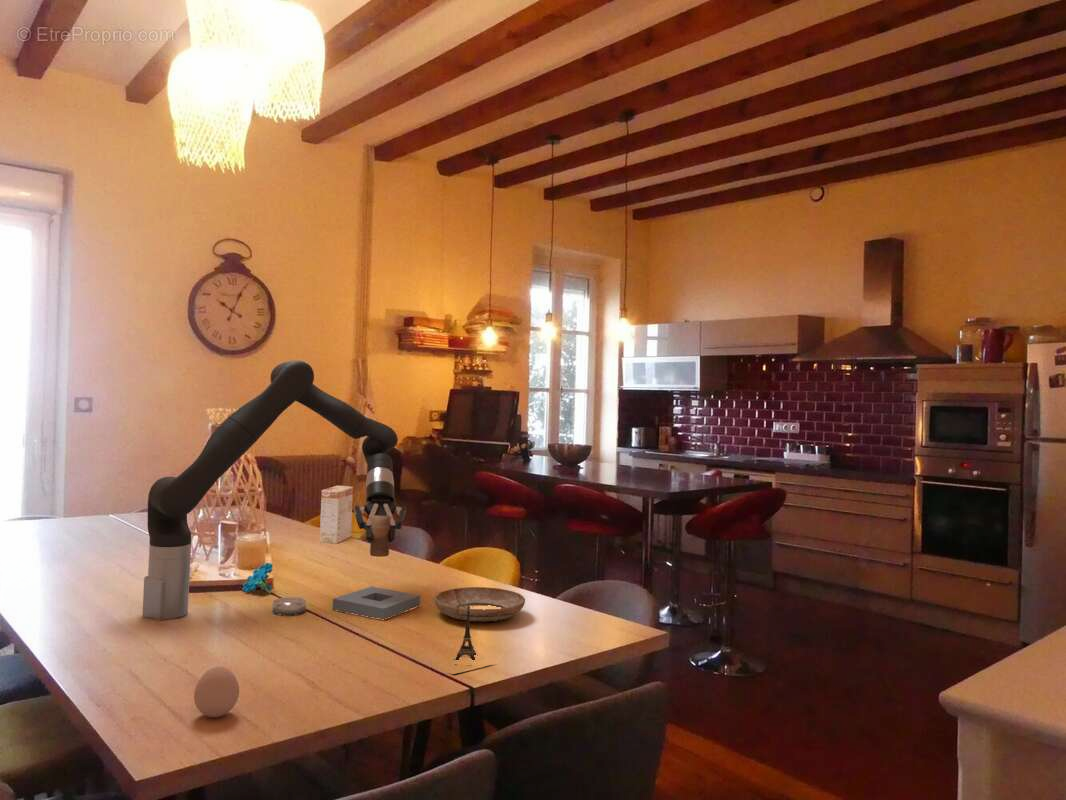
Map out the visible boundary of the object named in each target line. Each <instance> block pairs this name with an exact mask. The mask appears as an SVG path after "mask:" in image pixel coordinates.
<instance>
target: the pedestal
mask: <svg viewBox="0 0 1066 800" xmlns="http://www.w3.org/2000/svg"><path fill="white" fill-rule="evenodd" d="M306 603H307V601H306V598H305V599H304V598H302V597H296V596H295V597H292V596H288V597H287V596H286V597H281V598H276V599H274V600H273V601H272V614H274V613H275V615H276V614H281V615H280V616H283V615H291V616H296V615H295V614H299V615H302V614H304V613H305V612H306V609H307V604H306ZM303 612H304V613H303ZM301 613H302V614H301Z"/></svg>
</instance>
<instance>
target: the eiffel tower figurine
mask: <svg viewBox="0 0 1066 800" xmlns="http://www.w3.org/2000/svg"><path fill="white" fill-rule="evenodd" d="M469 612H470V606H468V607H467V621H465V622H466V623H465V630H464V631H465V632H464V636H463V640H462V641H463V642H462V645H460V647H459V651H457V653H456V655H457V657H456V659H455V660H459V658H460V657H464V656H467V657H470V658H471V659H472V660H475V657H474V655H476V654H477V653H476V652H477V651H476V650H475V649H474V645H473V643H472V637H471V631H470V630H471V627H470V626H471V625H470V623H471V621H470V616H469ZM466 642H467V645H466Z"/></svg>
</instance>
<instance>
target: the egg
mask: <svg viewBox="0 0 1066 800" xmlns="http://www.w3.org/2000/svg"><path fill="white" fill-rule="evenodd" d="M193 693H194V694H193V699H194V700H193V701H194V704H195V708H196V709H197V710H198V711H199V712H200V713H201V714H203V715H204V716H206V717H208V718H221V717H223V716H225V715H226V714H228V713H229V712H231V710H232V709H233V708H234V707H235V705H236V704H237V702H238V699H239V697H240V685H239V681H238V679H237V677H236V675H235V674H234V672H232V670H230V669H229V668H227V667H224V666H214V667H211V668H210V669H208V670H206V671H205V672H204V673H203V674H202V676H201V677H200V678H199V680H198V682H197V684H196V686H195V688H194V692H193Z"/></svg>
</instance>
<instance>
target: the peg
mask: <svg viewBox="0 0 1066 800" xmlns="http://www.w3.org/2000/svg"><path fill="white" fill-rule="evenodd" d="M371 528H372V539H371V542H370V544H369V545H370V547H369V556H371V557H378V558H380V557H382V558H383V557H388V556H389V554H390V542H389V535H390V516H387V515H374V516H372V522H371Z"/></svg>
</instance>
